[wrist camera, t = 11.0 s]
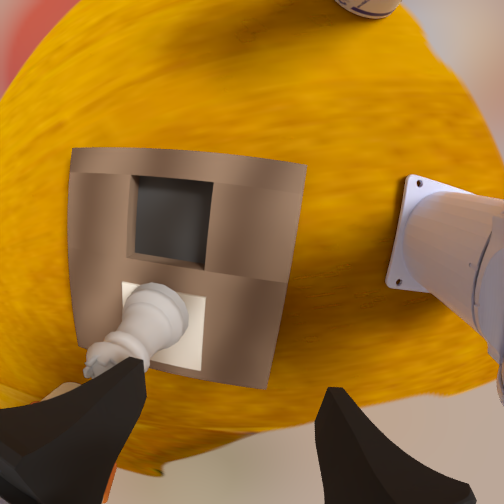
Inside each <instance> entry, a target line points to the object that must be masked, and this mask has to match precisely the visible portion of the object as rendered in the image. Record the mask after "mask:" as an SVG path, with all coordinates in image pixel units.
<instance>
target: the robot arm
mask: <svg viewBox="0 0 504 504" xmlns="http://www.w3.org/2000/svg"><path fill="white" fill-rule="evenodd" d="M418 180H419V181H420V186H419V187H418V186H417V181H418ZM398 279H400V282H399V283H398V284H396V281H397V280H398ZM385 283H386V285H387V286H388V287H389V288H394V289H402V290H410V291H418V292H427V293H432V294H433V295H434V296H435V297H437V298H438V299H439V300H440V301H441V302H443V303H444V304H445V305H446V306H447V307H449V308H450V309H451V310H452V311H453V312H455V313H456V314H457V315H458V316H459V317H460V318H462V319H463V320H464V321H465V322H466V323H467V324H469V325H470V326H471V327H472V328H473V329H474V330H475V331H476V332H478V333H479V334H480V335H481V336H482V337H483V338H484V339H485V340H486V341H487V343H488V354H489V355H490V356H491V357H492V358H493V359H494V360H495V361H496V362H497V363H498V364H499V365H500V366H499V370H498V375H497V391H498V395H499V398H500V401H501V403H502V404H503V406H504V200H502V199H497V198H491V197H485V196H478V195H475V194H472V193H470V192H467V191H464V190H461V189H458V188H455V187H452V186H449V185H446V184H443V183H440V182H437V181H434V180H431V179H427V178H424V177H421V176H417V175H408V176H407V177H406V180H405V186H404V193H403V199H402V205H401V211H400V216H399V222H398V227H397V232H396V237H395V241H394V246H393V250H392V255H391V259H390V263H389V267H388V271H387V275H386V279H385ZM146 397H147V395H146V385H145V374H144V361H143V360H142V359H138V358H134V357H130V356H129V357H128V358H126V359H124V360H123V361H121V362H119V363H118V364H116V365H115V366H113V367H112V368H110V369H108V370H107V371H105V372H104V373H102V374H100V375H99V376H97V377H95V378H94V379H92V380H90V381H88V382H86V383H84V384H82V385H80V386H79V387H77V388H75V389H73V390H71V391H68V392H66V393H64V394H61V395H59V396H56V397H53V398H51V399H48V400H44V401H41V402H37V403H33V404H30V405H25V406H20V407H13V408H6V409H0V504H101V503H102V500H103V496H104V493H105V490H106V487H107V484H108V481H109V478H110V475H111V472H112V470H113V467H114V464H115V462H116V460H117V458H118V455H119V453H120V452H121V450H122V448H123V446H124V444H125V442H126V440H127V439H128V437H129V435H130V433H131V431H132V429H133V428H134V426H135V424H136V422H137V420H138V418H139V416H140V414H141V411H142V408H143V406H144V403H145V400H146ZM315 441H316V442H315V443H316V449H317V454H318V460H319V465H320V471H321V476H322V482H323V487H324V497H325V498H324V499H325V504H476V501H477V500H476V498H475V496H474V494H473V492H472V490H471V488H470V486H469V484H467V483H464V482H461V481H458V480H455V479H453V478H449V477H447V476H445V475H443V474H440V473H438V472H436V471H434V470H432V469H430V468H429V467H427V466H425V465H423V464H422V463H420V462H418V461H417V460H415V459H414V458H412V457H411V456H409V455H408V454H406V453H405V452H404V451H403V450H401V449H400V448H399V447H398V446H396V445H395V444H394V443H393V442H392V441H390V440H389V439H388V438H387V437H386V436H385V435H384V434H383V433H382V432H381V431H380V430H379V429H378V428H377V427H376V426H375V425H374V424H373V423H372V422H371V421H370V420H369V418H368V417H367V416H366V415H365V414H364V413H363V412H362V410H361V409H360V408H359V407H358V406H357V404H356V403H355V402H354V401H353V400H352V398H351V397H350V396H349V395H348V393H347V392H346V391H345V390H344V389H343V388H339V387H328V388H327V391H326V394H325V396H324V399H323V402H322V404H321V407H320V409H319V412H318V414H317V417H316V419H315Z"/></svg>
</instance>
